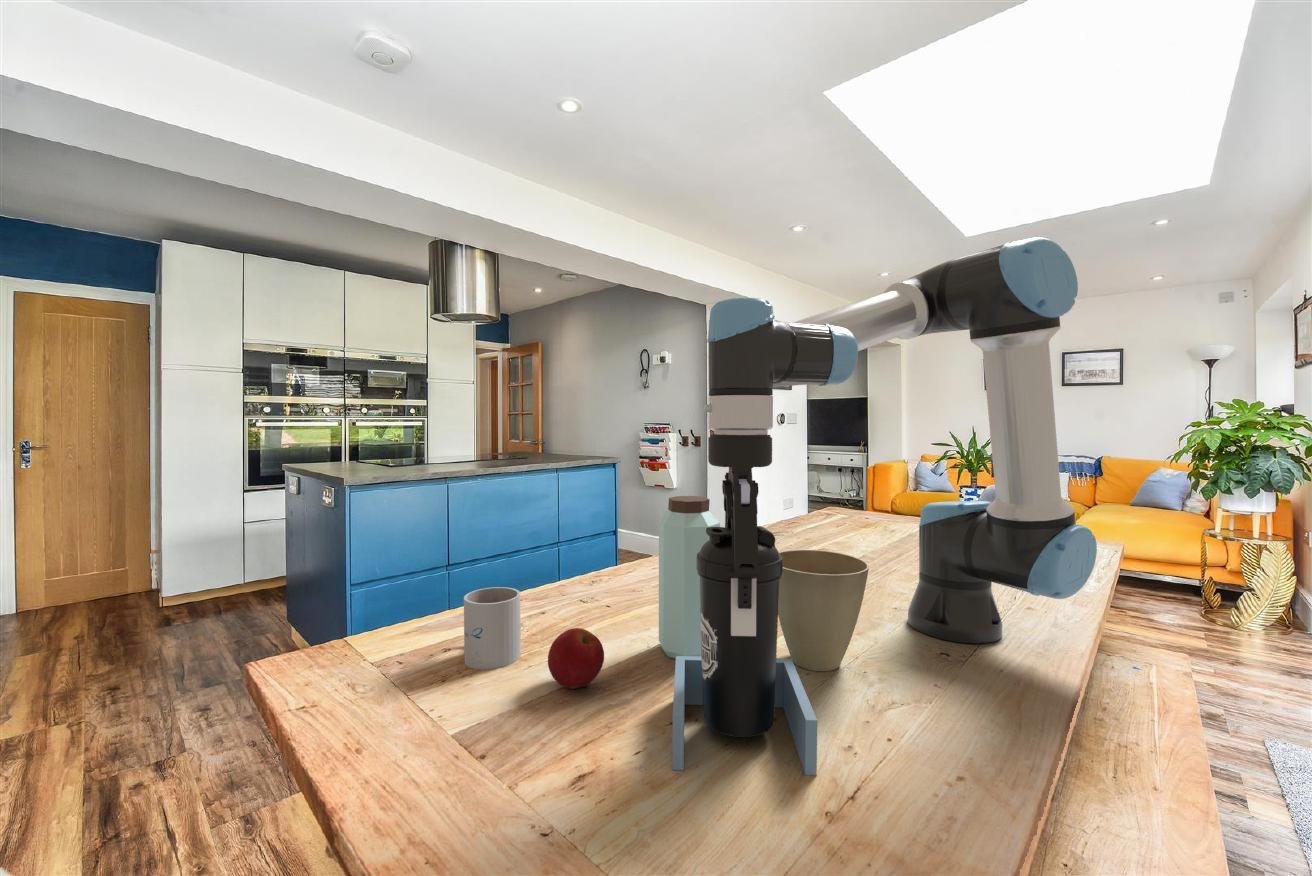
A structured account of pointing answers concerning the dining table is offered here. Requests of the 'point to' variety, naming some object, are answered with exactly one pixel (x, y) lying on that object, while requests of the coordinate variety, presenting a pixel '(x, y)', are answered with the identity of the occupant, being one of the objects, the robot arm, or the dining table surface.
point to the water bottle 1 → (681, 573)
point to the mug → (492, 628)
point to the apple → (575, 658)
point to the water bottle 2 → (738, 639)
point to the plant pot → (820, 605)
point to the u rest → (786, 696)
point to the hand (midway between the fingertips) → (739, 617)
